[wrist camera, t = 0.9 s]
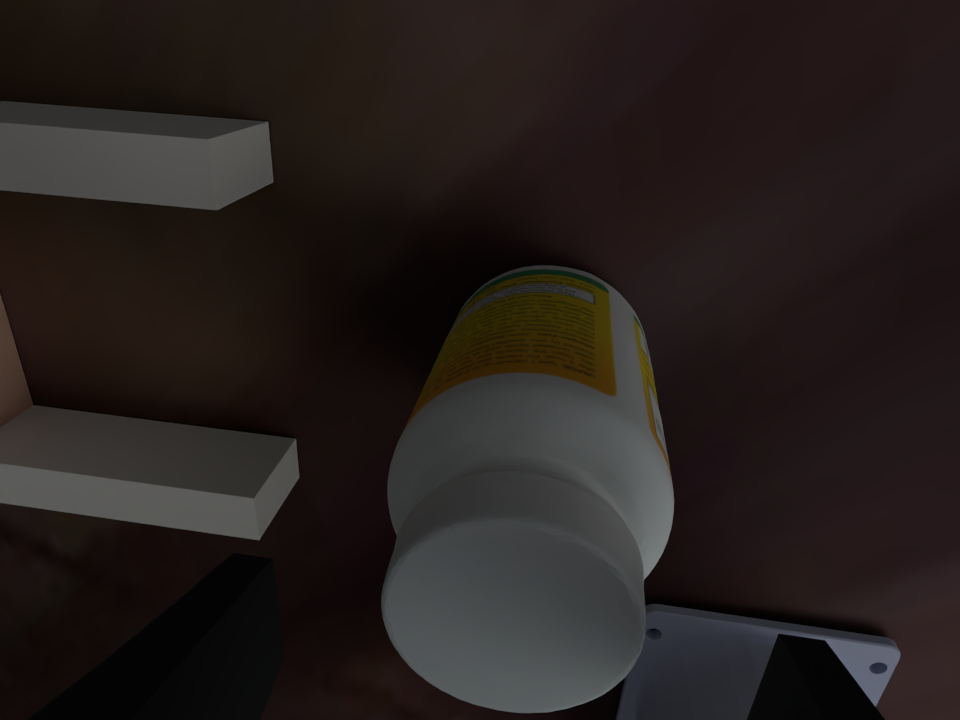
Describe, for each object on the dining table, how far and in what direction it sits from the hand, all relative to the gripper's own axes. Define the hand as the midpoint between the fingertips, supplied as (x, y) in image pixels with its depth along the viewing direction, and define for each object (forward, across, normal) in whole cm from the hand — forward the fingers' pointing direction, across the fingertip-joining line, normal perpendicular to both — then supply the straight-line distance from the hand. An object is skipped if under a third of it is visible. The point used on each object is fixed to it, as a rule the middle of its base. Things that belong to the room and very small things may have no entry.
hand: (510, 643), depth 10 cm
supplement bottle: (+10, 0, 0) cm, 10 cm away
